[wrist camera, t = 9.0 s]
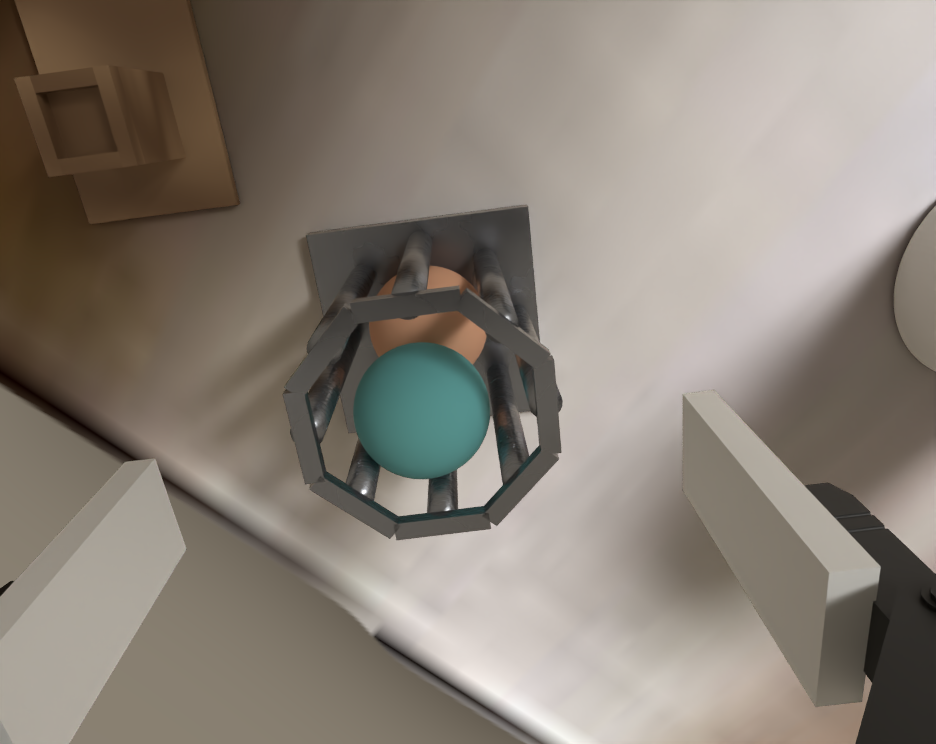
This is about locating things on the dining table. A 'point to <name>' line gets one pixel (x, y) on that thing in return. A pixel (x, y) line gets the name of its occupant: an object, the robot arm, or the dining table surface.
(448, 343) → the tube ball
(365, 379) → the teal ball
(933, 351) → the container
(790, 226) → the dining table surface
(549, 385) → the grey barred cage
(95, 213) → the rack
